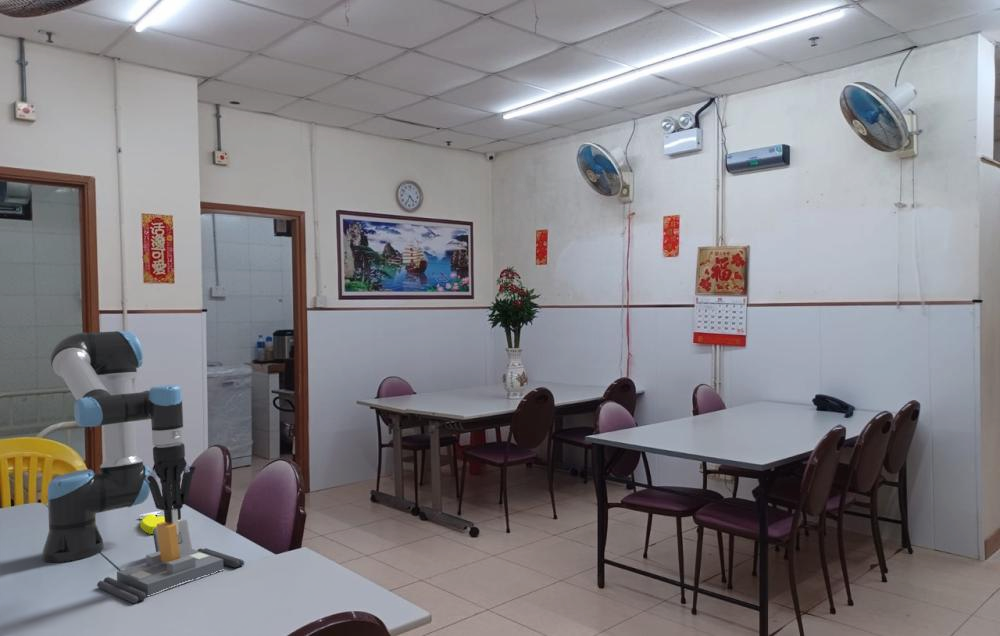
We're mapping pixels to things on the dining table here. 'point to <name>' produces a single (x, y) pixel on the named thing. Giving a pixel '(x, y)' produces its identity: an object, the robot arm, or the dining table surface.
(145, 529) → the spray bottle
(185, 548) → the electrical switch
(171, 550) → the lever
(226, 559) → the cable bundle
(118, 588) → the cable bundle
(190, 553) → the breaker panel
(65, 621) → the dining table surface
